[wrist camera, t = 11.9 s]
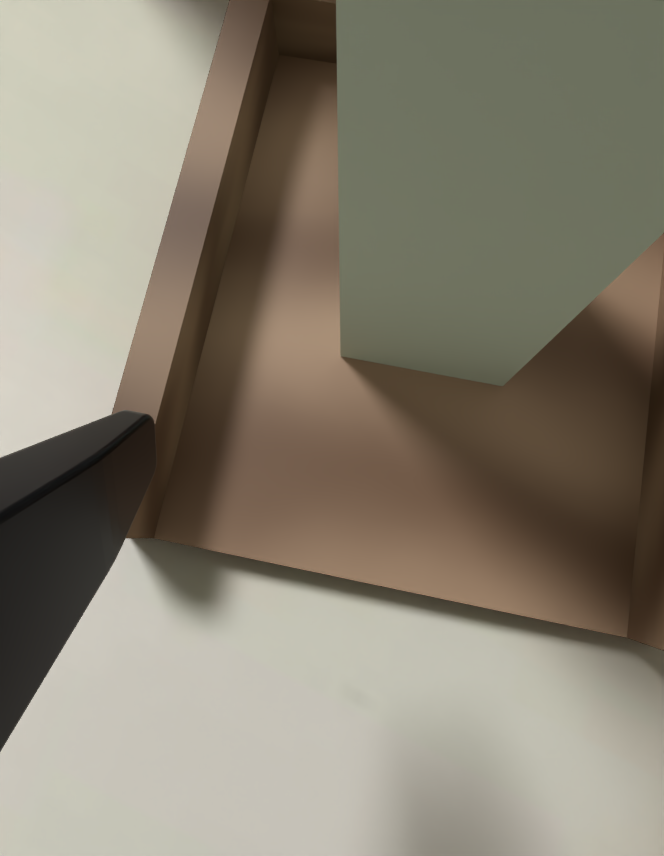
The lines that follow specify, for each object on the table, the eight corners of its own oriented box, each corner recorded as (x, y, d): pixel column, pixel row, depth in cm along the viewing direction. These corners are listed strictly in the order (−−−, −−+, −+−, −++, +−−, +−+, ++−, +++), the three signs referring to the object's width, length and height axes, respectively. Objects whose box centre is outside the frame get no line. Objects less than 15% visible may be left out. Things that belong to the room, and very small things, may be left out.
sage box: (502, 386, 17) (1211, -292, 3) (340, 356, 17) (332, -386, 3) (524, 238, 18) (1140, -783, 4) (370, 211, 18) (458, -826, 4)
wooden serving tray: (654, 642, 16) (724, 664, 13) (124, 530, 17) (79, 528, 14) (701, 110, 19) (764, 33, 17) (256, 40, 20) (242, -44, 17)
